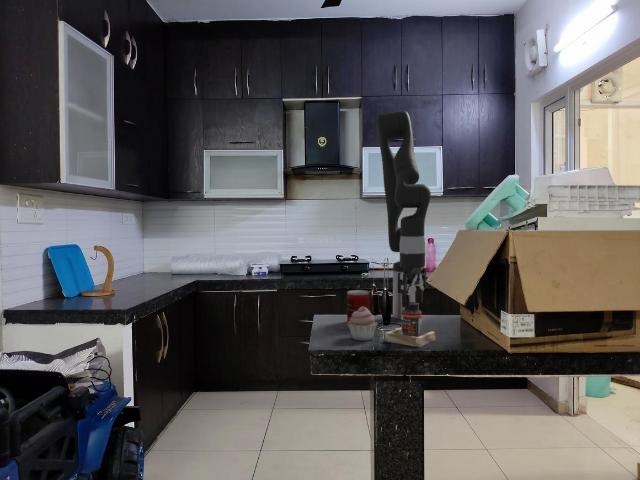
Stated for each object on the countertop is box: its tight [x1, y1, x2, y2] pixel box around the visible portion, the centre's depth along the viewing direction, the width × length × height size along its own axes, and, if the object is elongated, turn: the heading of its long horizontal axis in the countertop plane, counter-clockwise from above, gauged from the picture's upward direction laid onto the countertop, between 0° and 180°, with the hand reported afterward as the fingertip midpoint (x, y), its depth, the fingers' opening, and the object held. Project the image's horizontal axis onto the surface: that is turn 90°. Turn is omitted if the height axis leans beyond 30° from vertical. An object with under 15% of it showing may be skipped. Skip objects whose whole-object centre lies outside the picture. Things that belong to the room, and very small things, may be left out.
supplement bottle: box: [401, 302, 423, 337], centre depth 151 cm, size 6×6×11 cm
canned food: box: [346, 289, 370, 323], centre depth 177 cm, size 8×8×11 cm
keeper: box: [384, 327, 436, 348], centre depth 151 cm, size 10×11×2 cm
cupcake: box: [346, 306, 378, 342], centre depth 154 cm, size 9×9×10 cm
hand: (412, 305), depth 151 cm, fingers open, 8 cm apart
